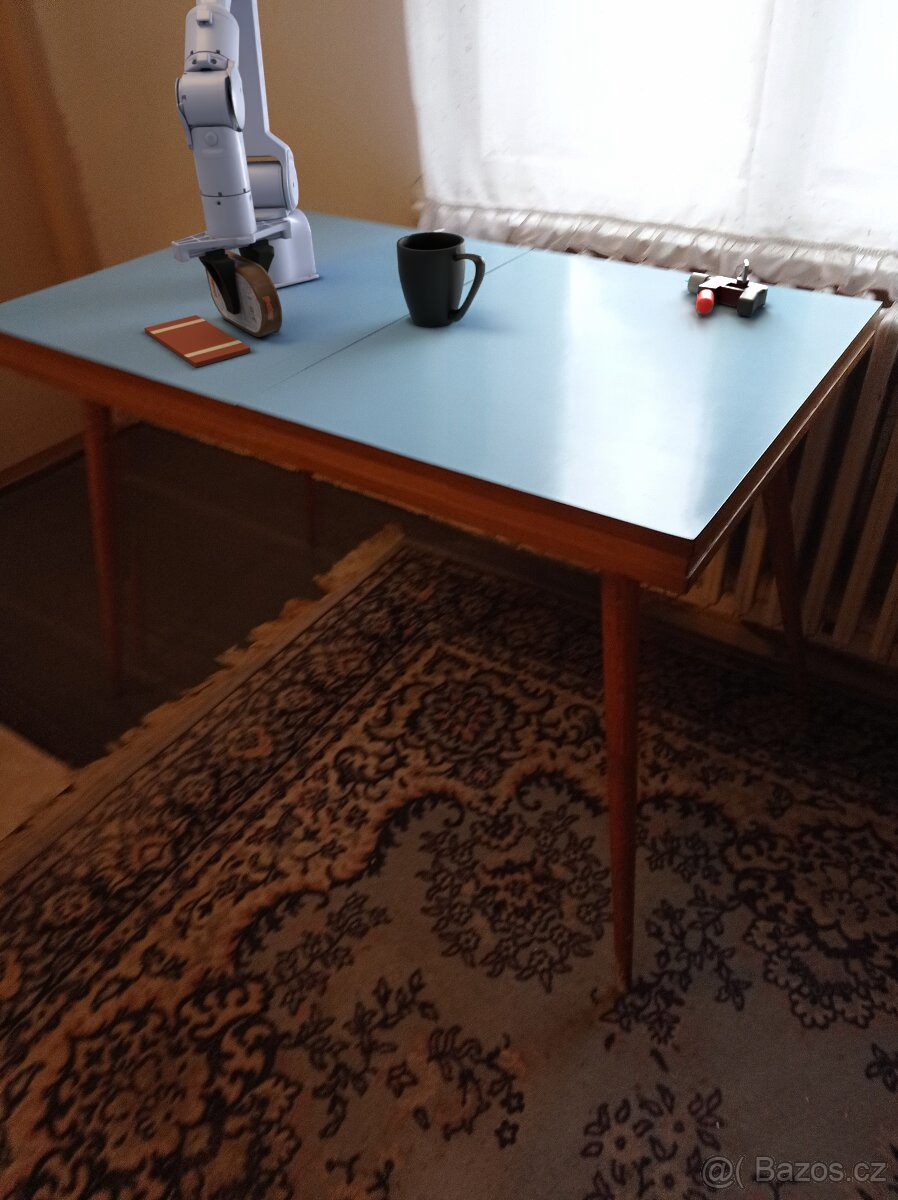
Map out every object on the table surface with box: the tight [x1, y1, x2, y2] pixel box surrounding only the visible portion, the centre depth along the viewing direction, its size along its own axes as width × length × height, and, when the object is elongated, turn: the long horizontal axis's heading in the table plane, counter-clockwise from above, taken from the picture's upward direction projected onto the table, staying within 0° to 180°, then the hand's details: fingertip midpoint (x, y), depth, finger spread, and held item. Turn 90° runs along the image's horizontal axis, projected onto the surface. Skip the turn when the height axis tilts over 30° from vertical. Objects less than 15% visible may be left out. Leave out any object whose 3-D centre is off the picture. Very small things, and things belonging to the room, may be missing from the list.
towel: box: [143, 314, 252, 368], centre depth 110 cm, size 7×15×1 cm, turn 37°
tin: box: [204, 250, 283, 338], centre depth 111 cm, size 15×3×8 cm, turn 38°
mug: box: [396, 231, 486, 328], centre depth 110 cm, size 8×12×10 cm
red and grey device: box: [684, 258, 769, 317], centre depth 113 cm, size 10×12×5 cm
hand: (245, 309), depth 112 cm, fingers closed on tin, 3 cm apart
